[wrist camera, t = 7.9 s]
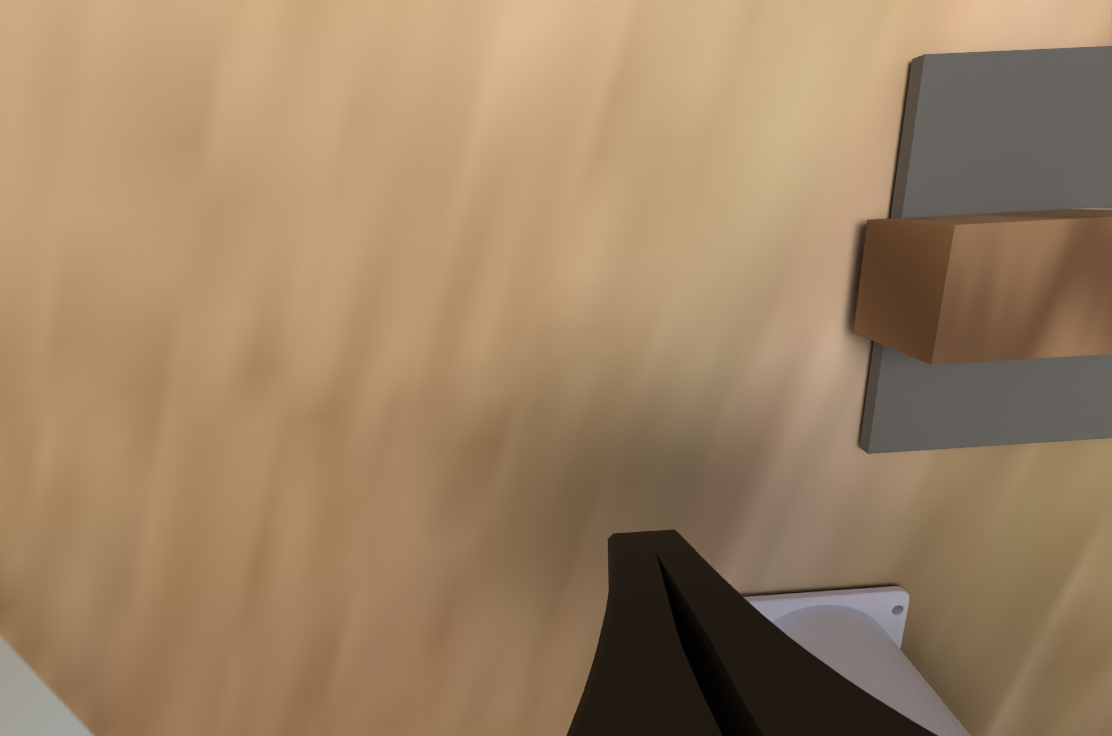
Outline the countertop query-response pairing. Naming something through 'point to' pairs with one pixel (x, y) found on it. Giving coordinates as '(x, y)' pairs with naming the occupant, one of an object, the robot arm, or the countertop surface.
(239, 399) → the countertop surface
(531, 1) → the countertop surface
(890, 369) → the rubber mat
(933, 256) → the walnut block
